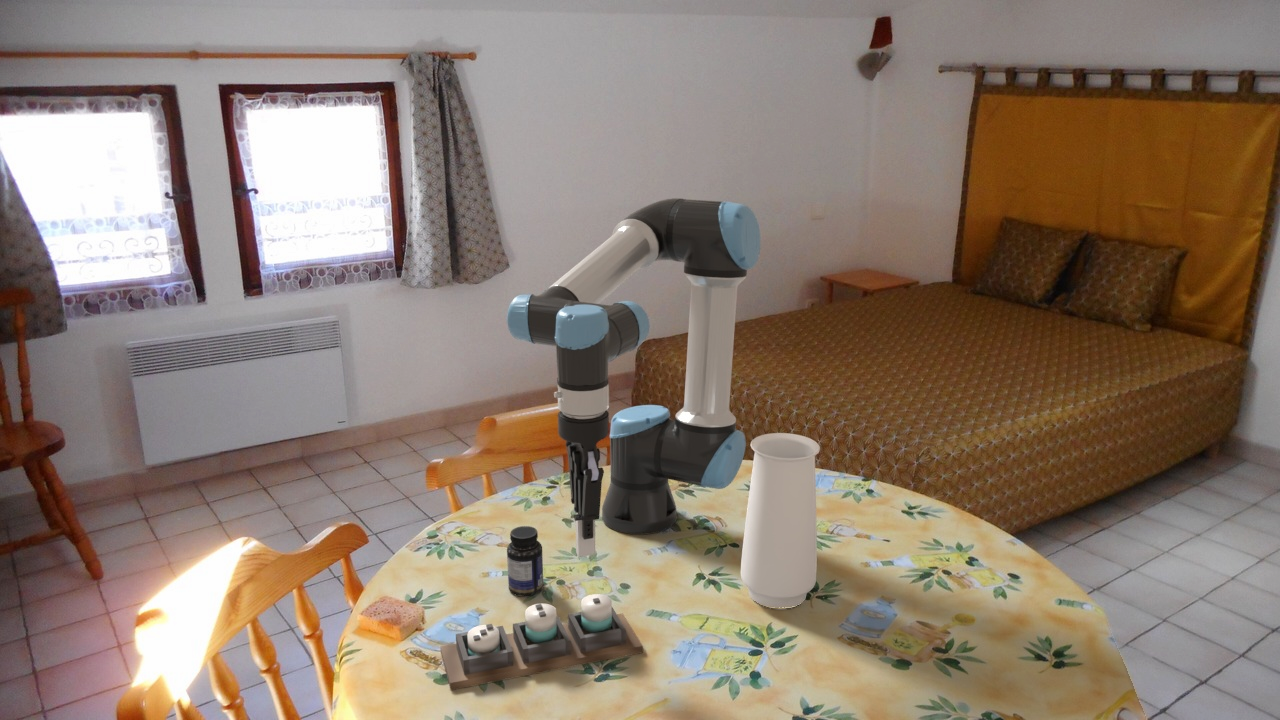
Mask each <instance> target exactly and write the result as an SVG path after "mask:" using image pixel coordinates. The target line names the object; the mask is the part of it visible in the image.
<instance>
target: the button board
mask: <svg viewBox="0 0 1280 720" xmlns="http://www.w3.org/2000/svg"><path fill="white" fill-rule="evenodd" d="M613 607H614V606H612V626H611V627H610V629H608V630H607V631H603V632H598V633H593V632H589V631H586V630H585V629H583V627H582V620H581V611H578V612H573V613H568V614H567V622H566V623H562V620H561V618H560V616H558V615H556V620H557V635H556V637H555V638H554V639H553V640H551V641H549V642H544V643H534V642H531V641H529V640H528V639H527V638H526V623H525V621H521V622H515V623H512V633H506V630H505V628H504V625H499V626H495V627H496V628H497V629H498V630H499V638H500V651H495V652H490V653H485V654H479V655H474V656H468V637H467V634H468V632H469V631H465V632H460V633H455V641H456V642H455V643H451V644H445V645H440V647H439V648H440V655H441V658H442V663H443V666H444V670H445V674H446V678H447V681H448V686H449V690H450V691H452V690H459V689H462V688H463V689H464V688H468V687H472V686H473V687H474V686H479V685H484V684H489V683H493V682H499V681H504V680H509V679H514V678H519V677H525V676H529V675H530V676H531V675H534V674H540V673H545V672H549V671H556V670H561V669H566V668H571V667H576V666H580V665H585V664H591V663H595V662H601V661H607V660H611V659H616V658H617V659H618V658H622V657H626V656H627V657H628V656H632V655H637V654H638V655H639V654H642V653H643V649H644V648H643V647H644V646H643V644H642V642H641V641H640V639H639V637H638V636H637V635H636V634H637V633H635V630H634V629H633V628H632V626H631V625H630V623H629V621H628V620H627V618H626V616H625V615H624V613H618V614H617V612H616V611H615V609H614V608H613Z"/></svg>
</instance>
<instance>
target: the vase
mask: <svg viewBox="0 0 1280 720" xmlns="http://www.w3.org/2000/svg"><path fill="white" fill-rule="evenodd" d="M750 448H751V450H753V451H754V455H753V464H752V470H751V476H750V477H751V478H750V484H749V485H750V486H749V490H748V491H749V492H748V500H747V506H746V507H747V509H746V515H745V524H744V531H743V532H744V534H743V541H742V551H741V561H740V579H741V581H742V583H743V584H744V586H745V587H747V590H748V596H749V597H750V599H751V598H752V599H753V600H754V601H756V602H757V603H759V604H761V605H764V606H768V607H775V608H779V607H780V608H782V607H784V608H785V607H792V606H796V605H798V604H800V603H802V602H803V601H804V600H806V597H807V594H808V593H809V592H810V591H811V590H813V589H814V588H815V585H816V582H817V571H818V569H817V568H818V567H817V564H818V560H817V558H818V556H817V555H818V551H817V550H818V548H817V546H818V543H817V542H818V540H817V539H818V536H817V535H818V534H817V533H818V532H817V530H818V529H817V526H818V525H817V490H816V489H817V488H816V486H817V485H816V480H817V479H816V456H817V455H818V454H819V452H820V450H821V447H820V445H819V444H818V442H817V441H816V440H814V439H812V438H810V437H807V436H804V435H801V434H795V433H787V432H786V433H785V432H774V433H773V432H771V433H765V434H761V435H758V436H756V437H755V438H753V439H752V440H751V442H750ZM752 599H751V600H752ZM753 600H752V601H753ZM754 601H753V602H754ZM756 602H755V603H756ZM804 602H805V601H804ZM804 602H803V603H804ZM757 603H756V604H757ZM803 603H802V604H803ZM759 604H758V605H759ZM761 605H760V606H761ZM764 606H763V607H764Z"/></svg>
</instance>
